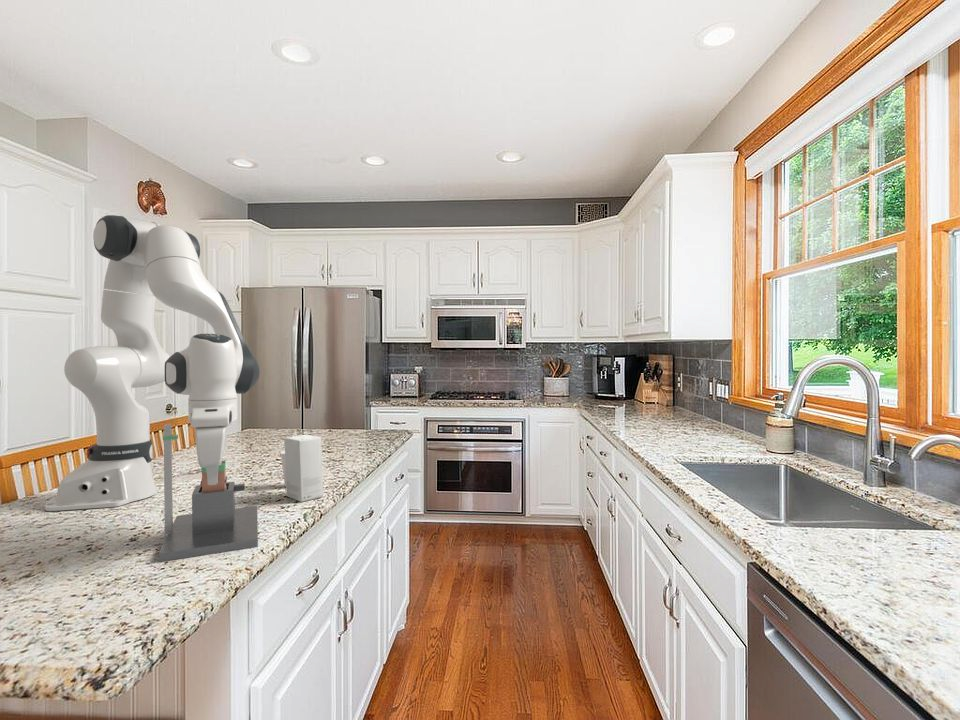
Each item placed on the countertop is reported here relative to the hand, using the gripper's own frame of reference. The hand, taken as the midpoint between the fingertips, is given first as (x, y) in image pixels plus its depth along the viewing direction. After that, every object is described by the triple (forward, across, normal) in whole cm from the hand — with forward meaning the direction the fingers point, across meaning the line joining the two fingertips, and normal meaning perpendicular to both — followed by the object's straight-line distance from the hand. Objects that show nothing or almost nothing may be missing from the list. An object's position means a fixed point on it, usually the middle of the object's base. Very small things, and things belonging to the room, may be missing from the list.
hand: (214, 479), depth 99 cm
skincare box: (+11, -19, +19) cm, 29 cm away
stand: (+11, 0, 0) cm, 11 cm away
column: (+9, 0, 0) cm, 9 cm away
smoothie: (+11, -31, +17) cm, 37 cm away
